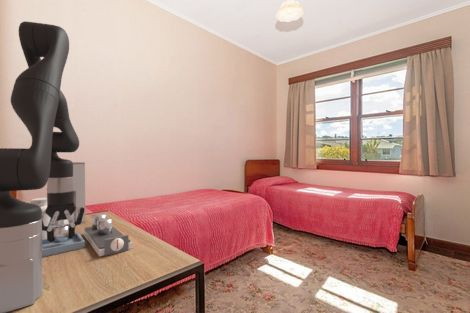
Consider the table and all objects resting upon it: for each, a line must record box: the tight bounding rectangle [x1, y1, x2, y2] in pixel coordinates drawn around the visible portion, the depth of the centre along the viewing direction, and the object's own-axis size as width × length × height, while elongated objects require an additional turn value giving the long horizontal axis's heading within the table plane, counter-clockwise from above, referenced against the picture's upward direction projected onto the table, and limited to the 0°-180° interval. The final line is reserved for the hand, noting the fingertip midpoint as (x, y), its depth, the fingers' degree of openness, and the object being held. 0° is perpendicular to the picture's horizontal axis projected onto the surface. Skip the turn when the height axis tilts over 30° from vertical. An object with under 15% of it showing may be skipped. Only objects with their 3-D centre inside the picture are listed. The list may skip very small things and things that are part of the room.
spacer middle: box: [97, 217, 113, 235], centre depth 89 cm, size 5×5×5 cm
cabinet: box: [54, 161, 86, 226], centre depth 109 cm, size 21×10×28 cm, turn 25°
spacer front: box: [52, 224, 70, 243], centre depth 82 cm, size 5×5×5 cm
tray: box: [42, 232, 86, 258], centre depth 82 cm, size 12×12×2 cm
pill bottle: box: [29, 197, 51, 239], centre depth 91 cm, size 8×8×15 cm
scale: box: [82, 225, 133, 257], centre depth 88 cm, size 29×10×5 cm, turn 41°
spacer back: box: [91, 213, 107, 229], centre depth 96 cm, size 5×5×5 cm
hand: (61, 239), depth 82 cm, fingers closed on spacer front, 5 cm apart
